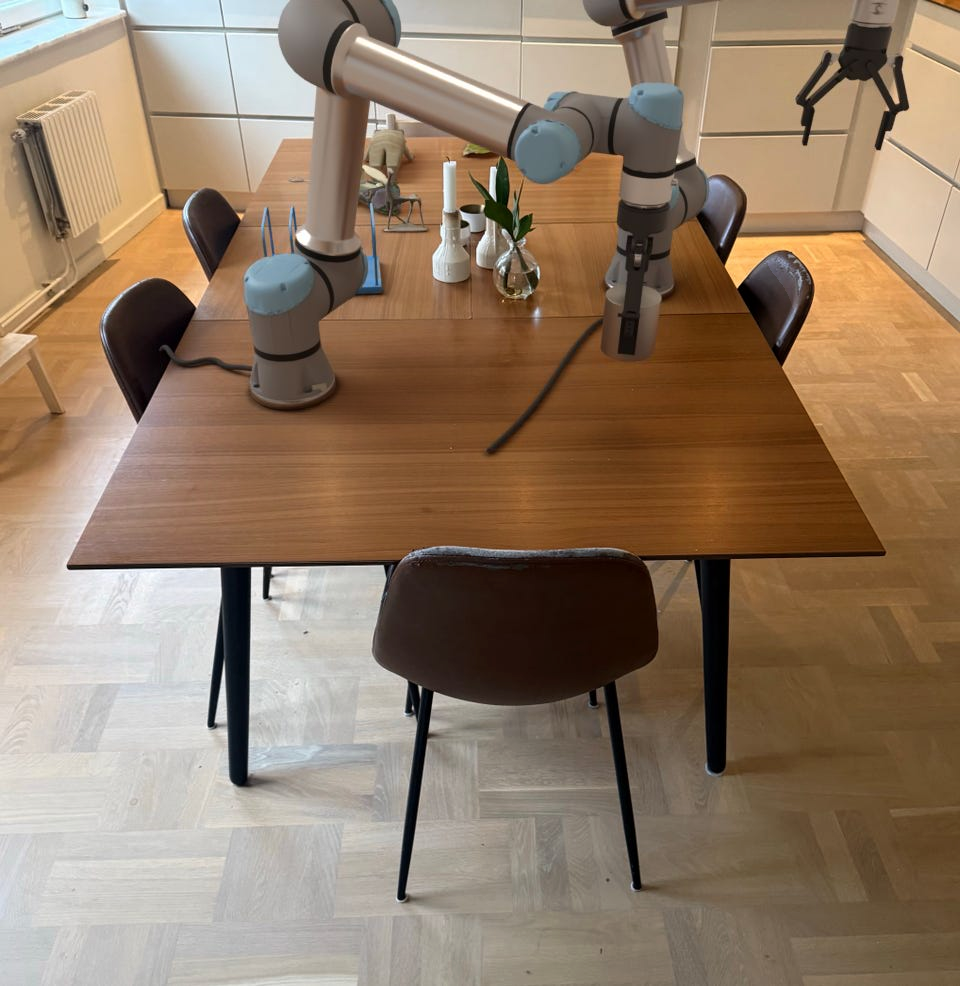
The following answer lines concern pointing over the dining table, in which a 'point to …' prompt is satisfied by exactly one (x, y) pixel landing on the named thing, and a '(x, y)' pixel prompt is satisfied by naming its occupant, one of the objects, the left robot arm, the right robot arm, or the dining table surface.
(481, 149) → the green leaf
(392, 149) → the figurine
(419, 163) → the dining table surface
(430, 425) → the dining table surface
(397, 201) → the figurine
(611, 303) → the canister
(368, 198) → the ballet flat
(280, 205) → the dining table surface
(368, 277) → the file sorter
